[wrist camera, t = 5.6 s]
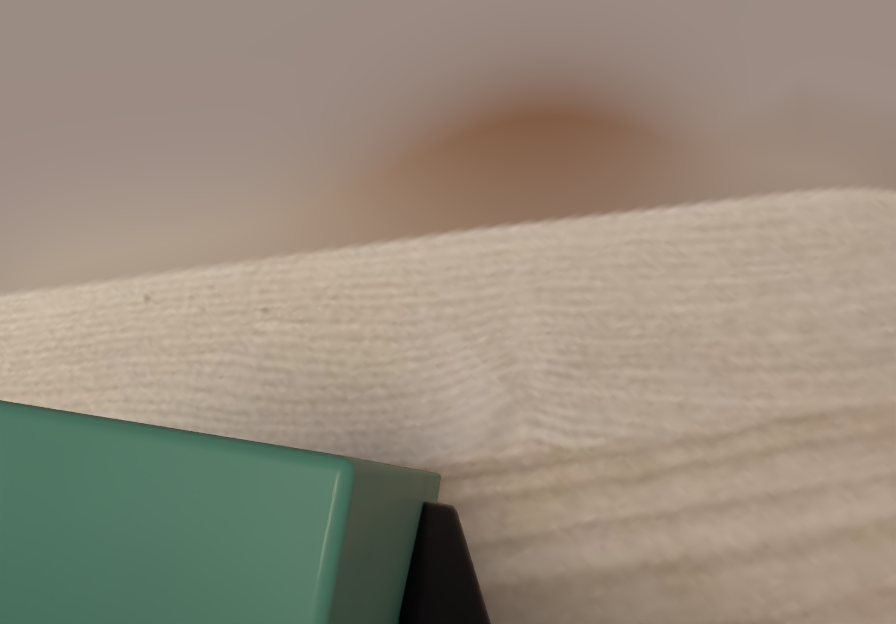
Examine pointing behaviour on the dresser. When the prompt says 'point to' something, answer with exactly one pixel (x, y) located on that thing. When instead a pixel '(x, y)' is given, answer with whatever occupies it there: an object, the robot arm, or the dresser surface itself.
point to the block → (195, 526)
